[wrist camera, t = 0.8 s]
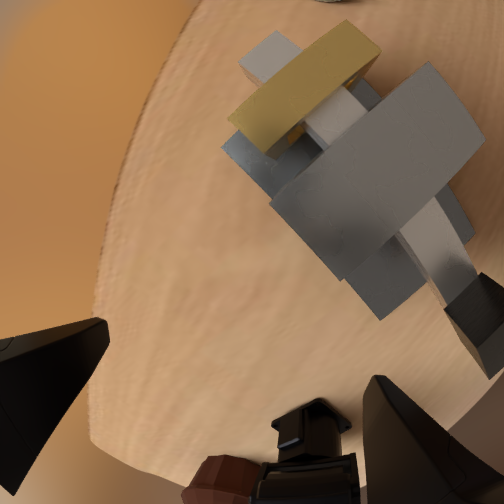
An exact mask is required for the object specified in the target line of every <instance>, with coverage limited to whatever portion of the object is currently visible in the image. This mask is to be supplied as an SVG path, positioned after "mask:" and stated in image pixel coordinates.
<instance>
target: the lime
mask: <svg viewBox="0 0 504 504" xmlns="http://www.w3.org/2000/svg"><path fill="white" fill-rule="evenodd" d="M317 1H322V2H335V1H342V0H317Z"/></svg>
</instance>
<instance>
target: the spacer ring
mask: <svg viewBox="0 0 504 504" xmlns="http://www.w3.org/2000/svg"><path fill="white" fill-rule="evenodd" d="M381 52H382V50H381V49H380V48H379V47H378V46H377V45H376V44H375V43H374V42H372V41H371V40H370V39H369V38H368V37H367V36H366V35H365V34H363V33H362V32H361V31H360V30H359V29H357V28H356V27H355V26H354V25H353V24H351V23H350V22H349V21H348V20H345V21H343V22H342V23H340V24H339V25H337V26H336V27H335V28H333V29H332V30H330V31H329V32H328V33H326V34H325V35H323V36H322V37H321V38H319V39H318V40H317V41H315V42H314V43H313V44H311V45H310V46H309V47H308V48H306V49H305V50H304V51H302V52H301V53H300V54H299V55H297V56H296V57H295V58H294V59H293V60H291V61H290V62H289V63H288V64H286V65H285V66H284V67H283V68H282V69H281V70H279V71H278V72H277V73H276V74H275V75H273V76H272V77H271V78H270V79H269V80H268V81H267V82H266V83H264V84H263V85H262V86H261V87H260V88H259V89H258V90H257V91H256V92H254V93H253V94H252V95H251V96H250V97H249V98H248V99H247V100H246V101H245V102H244V103H243V104H242V105H241V106H239V107H238V108H237V109H236V110H235V111H234V112H233V113H232V114H231V115H230V116H229V117H228V118H227V119H228V120H229V121H230V122H231V123H232V124H233V125H234V126H235V127H236V128H237V129H238V130H240V131H241V132H242V133H243V134H244V135H245V136H246V137H247V138H248V139H249V140H250V141H251V142H252V143H253V144H254V145H255V146H256V147H257V148H258V149H259V150H260V151H261V152H262V153H263V154H265V155H267V156H269V157H271V158H272V159H274V160H276V159H278V158H279V157H280V156H281V155H282V154H283V153H284V152H285V151H286V150H287V149H288V148H289V147H290V146H291V145H293V144H294V143H295V142H296V141H297V140H298V139H299V138H300V137H301V136H302V135H303V134H305V133H306V131H305V130H304V129H303V128H302V127H301V126H300V124H301V123H302V122H303V121H304V120H305V119H307V118H308V117H309V116H310V115H311V114H312V113H313V112H314V111H316V110H317V109H318V108H319V107H320V106H321V105H322V104H324V103H325V102H326V101H327V100H328V99H329V98H331V97H332V96H333V95H334V94H335V93H336V92H338V91H339V90H340V89H341V88H342V87H345V88H346V89H347V90H348V91H349V92H350V93H351V92H352V91H353V90H354V89H355V87H356V86H357V85H358V83H359V82H360V81H361V79H362V78H363V77H364V75H365V74H366V73H367V71H368V70H369V68H370V67H371V66H372V64H373V63H374V62H375V60H376V59H377V58H378V56H379V55H380V54H381Z"/></svg>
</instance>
